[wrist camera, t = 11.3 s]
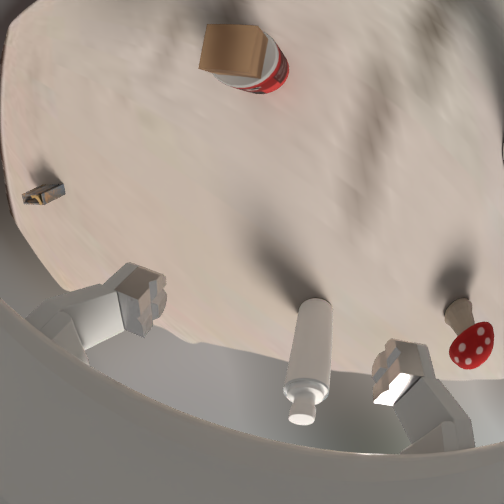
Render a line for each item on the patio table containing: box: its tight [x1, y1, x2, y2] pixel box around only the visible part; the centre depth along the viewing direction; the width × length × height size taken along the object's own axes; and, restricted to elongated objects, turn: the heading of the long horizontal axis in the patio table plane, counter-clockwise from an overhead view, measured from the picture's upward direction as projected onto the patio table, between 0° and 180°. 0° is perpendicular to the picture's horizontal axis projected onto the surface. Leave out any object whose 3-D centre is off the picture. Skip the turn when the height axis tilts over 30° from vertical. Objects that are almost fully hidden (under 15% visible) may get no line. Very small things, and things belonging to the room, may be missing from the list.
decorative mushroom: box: [445, 298, 494, 369], centre depth 36 cm, size 10×9×15 cm
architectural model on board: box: [22, 184, 65, 205], centre depth 50 cm, size 11×3×10 cm, turn 89°
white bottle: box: [283, 298, 333, 425], centre depth 40 cm, size 7×7×25 cm
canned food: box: [212, 31, 289, 94], centre depth 28 cm, size 8×8×11 cm
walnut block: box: [199, 24, 268, 79], centre depth 22 cm, size 5×5×5 cm
